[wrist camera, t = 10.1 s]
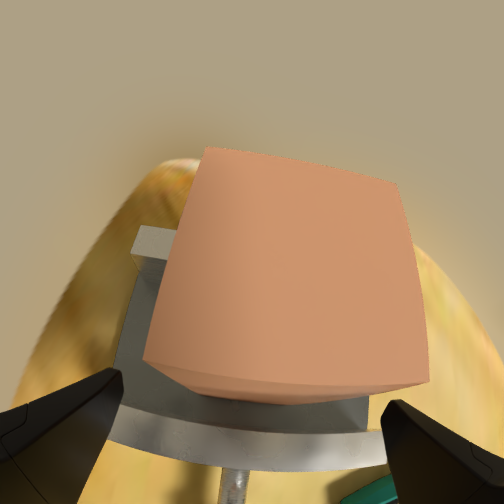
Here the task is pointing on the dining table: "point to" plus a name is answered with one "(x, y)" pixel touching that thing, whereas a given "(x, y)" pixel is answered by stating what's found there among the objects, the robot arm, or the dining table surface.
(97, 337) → the dining table surface
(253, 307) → the terracotta block
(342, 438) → the bench vise
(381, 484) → the digital multimeter
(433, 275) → the dining table surface
